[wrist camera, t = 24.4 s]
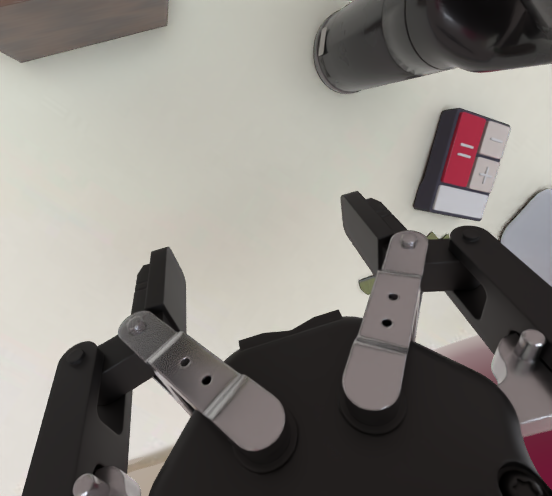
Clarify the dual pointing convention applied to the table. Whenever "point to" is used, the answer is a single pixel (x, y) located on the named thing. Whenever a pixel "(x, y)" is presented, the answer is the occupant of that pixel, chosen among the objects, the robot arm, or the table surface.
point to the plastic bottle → (533, 235)
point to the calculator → (462, 165)
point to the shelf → (72, 24)
